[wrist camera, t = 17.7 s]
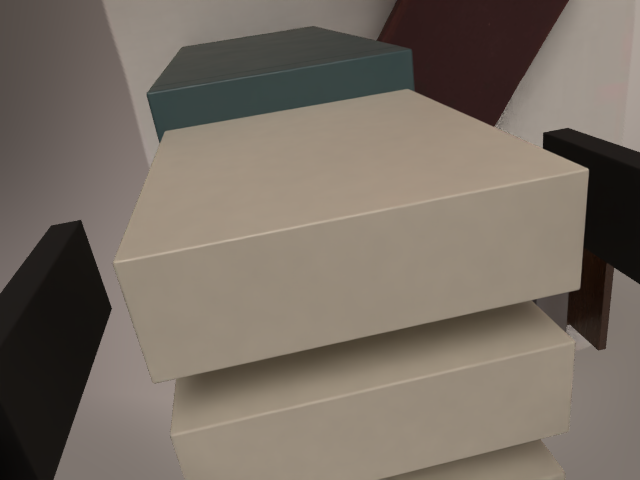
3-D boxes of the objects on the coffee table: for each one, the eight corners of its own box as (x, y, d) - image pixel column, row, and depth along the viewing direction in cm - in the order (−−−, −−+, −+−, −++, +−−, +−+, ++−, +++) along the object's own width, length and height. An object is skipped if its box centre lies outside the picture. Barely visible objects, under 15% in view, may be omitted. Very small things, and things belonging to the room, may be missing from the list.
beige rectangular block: (164, 130, 21) (111, 263, 10) (408, 88, 22) (590, 168, 12) (182, 201, 23) (152, 385, 12) (413, 158, 24) (581, 289, 13)
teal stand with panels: (335, 190, 49) (570, 552, 17) (219, 212, 48) (228, 645, 16) (314, 25, 43) (609, 92, 11) (181, 47, 42) (68, 191, 10)
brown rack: (398, 357, 58) (428, 415, 50) (389, 258, 53) (421, 304, 45) (563, 319, 60) (618, 369, 52) (570, 220, 55) (631, 258, 47)
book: (337, 106, 46) (345, 113, 43) (456, -129, 41) (475, -139, 38) (453, 165, 50) (468, 176, 47) (576, -41, 45) (601, -44, 42)
